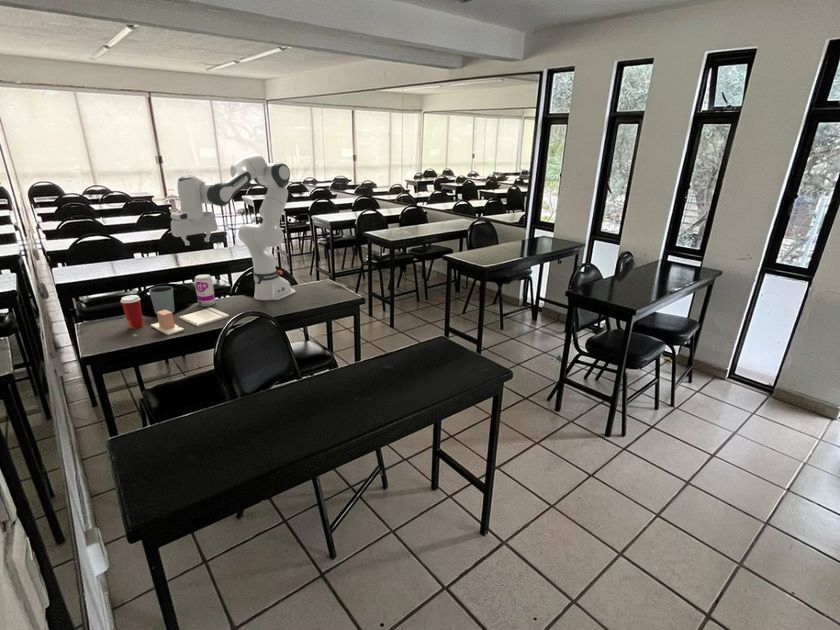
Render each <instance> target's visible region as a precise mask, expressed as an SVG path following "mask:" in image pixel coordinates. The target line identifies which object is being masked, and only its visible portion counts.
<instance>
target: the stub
mask: <svg viewBox="0 0 840 630" xmlns="http://www.w3.org/2000/svg"><path fill="white" fill-rule="evenodd" d="M173 315H174V314H173V313H172V312H170V311H168V310H162V311H158V312H157V316H156V317H157V321H158V322H155V323H151V324H150V326H151V328H153V329H156V330H157V331H159V332H161V333H163V334H165V335H167V336H171V335H173V334H174V335H175V334H177V333H180V332H183V331H185V328H183V327H181V326H179V325H178V324H175V320H174V316H173Z"/></svg>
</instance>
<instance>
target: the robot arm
mask: <svg viewBox="0 0 840 630" xmlns="http://www.w3.org/2000/svg"><path fill="white" fill-rule="evenodd" d="M229 168H230V170H229V171H230V175H231V178H230V179H229V180H227V181H226V182H224V183H223V182H221V183H217V182H209V181H204V180H202V179H199V178H198V177H197V176H196V175H193V174H192V175H183V176H181V177H179V178H178V180H177V193H178V198H179V200H180V209H179V210H176V211H173V212H172V213H171V214H170V218H171V219H172V220H171V221H170V230H171V235H172V236H174V237H176V238H179V237H180V239H182V241H183V242H184V245H185V246H190V245H191V244H190V243H191V242H190V241H189V240H188V239H187V236H192V235H198V234H206V236H205V237H204V242H206V243H209V242H210V237H211V235H212V232H216V231H217V230H218V223H217V221H216V214H215V213H214V212H213V211H211V210H209V211H204V208H203V204H207V205H214V206H218V207H225V206H227V205H229V204H230V202H231V201H232V199H233V198H234V196H236V194H237V193H240V191H242V190H243V189H244V188H246V187H247V186H248V185H249V184H250V183H251V182H253V181H254V182H255V183H256V184H257V185H258V186H262V187H267V191H266V194H265V196H264V198H263V201H262V203H261V205H260V207H259V212H258V213H259V216H260V217H261V218H262V222H261V224H260V223H259V224H258V223H257V224H256V223H247V224H246V223H245V224H243V225H241V226H240V227H239V229H238V238H239V239H240V241H241V242H242V243H243V244H244V245H245V246H246V248H247V249H248V252H249V254H250V257H251V259H252V260H251V261H252V265H253V281H254V284H255V285H254V296H253V298H254V299H255V300H259V301H279V300H281V299H283V298H286V297H289V296H291V295H293V294H296V289H294V288H292V287H291V286H292V285H291V283H290V282H289V281H288V280H287V279H285V278H284V277H281V276H280V275H283V271H282V270H279V269H278V270H277V268H276V261H275V260H276V259H275V256H274V254H273V253H271V252H270V250H269V249H268V248H277V247H280V246H281V245H282V244H283V243H284V239H285V236H284V232H283V230H282V228H281V225H280V222H281V219H282V215H283V212H284V210H285V207H286V205H287V201H288V197H289V190H288V189H287V186H288V185H289V182H290V179H291V172H290V168H289V167H288V165H287V164H285V163H283V162H269V163H267V161H266V160H265V158H264V157H263V156H262V155H261V154H259V153H252V154H248V155H246V156H243V157H241V158H240V159H237V160H236V161H234V162H233V163H232V164H231V165H230V167H229Z"/></svg>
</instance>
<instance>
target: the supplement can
mask: <svg viewBox="0 0 840 630" xmlns="http://www.w3.org/2000/svg"><path fill="white" fill-rule="evenodd" d="M213 283H214V282H213V278H212V276H211V275H210V274H209V273H208V274H202V273H201V274H198V275H196V276H195V277H194V286H195V292H196V297H197V303H198V305H199V306H200V307H210V306H213V305H214V304H215V303H216V296H215V290H214V289H215V288H214V284H213Z"/></svg>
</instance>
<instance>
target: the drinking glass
mask: <svg viewBox="0 0 840 630" xmlns="http://www.w3.org/2000/svg"><path fill="white" fill-rule="evenodd" d="M148 293H149V296H150V300H151V302H152V306H153V310H154V314H155V315H157V312H158V311H162V310H168V311H170V312H172V314H173V313H175V304H174V303H175V301H174V288H173V286H169V285H168V286H167V285H162V286H155V287H152V288H150V289H148Z"/></svg>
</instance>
